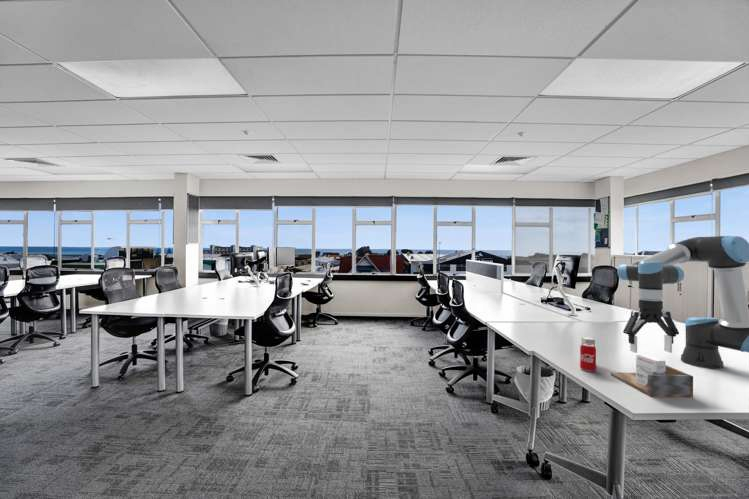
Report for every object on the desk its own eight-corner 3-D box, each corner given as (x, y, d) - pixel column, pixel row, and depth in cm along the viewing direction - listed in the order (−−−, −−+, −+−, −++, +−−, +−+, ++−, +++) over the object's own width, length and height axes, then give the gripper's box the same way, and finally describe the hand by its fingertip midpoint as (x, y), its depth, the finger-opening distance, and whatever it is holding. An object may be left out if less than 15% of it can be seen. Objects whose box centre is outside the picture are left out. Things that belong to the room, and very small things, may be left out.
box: (595, 366, 159) (595, 339, 159) (585, 365, 160) (585, 339, 160) (590, 362, 164) (590, 337, 164) (581, 362, 165) (581, 336, 165)
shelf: (647, 375, 147) (647, 357, 147) (693, 397, 125) (693, 376, 125) (610, 375, 148) (610, 356, 148) (650, 396, 126) (650, 375, 126)
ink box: (666, 390, 129) (666, 360, 129) (656, 391, 128) (656, 361, 128) (645, 381, 137) (645, 353, 137) (635, 382, 136) (635, 354, 136)
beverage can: (577, 367, 157) (577, 342, 157) (589, 367, 157) (589, 342, 157) (586, 372, 151) (586, 346, 151) (599, 372, 151) (599, 346, 151)
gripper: (673, 297, 136) (674, 348, 136) (612, 298, 137) (613, 348, 137) (690, 300, 129) (691, 354, 129) (625, 301, 129) (626, 354, 129)
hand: (650, 351), depth 133 cm, fingers open, 13 cm apart
